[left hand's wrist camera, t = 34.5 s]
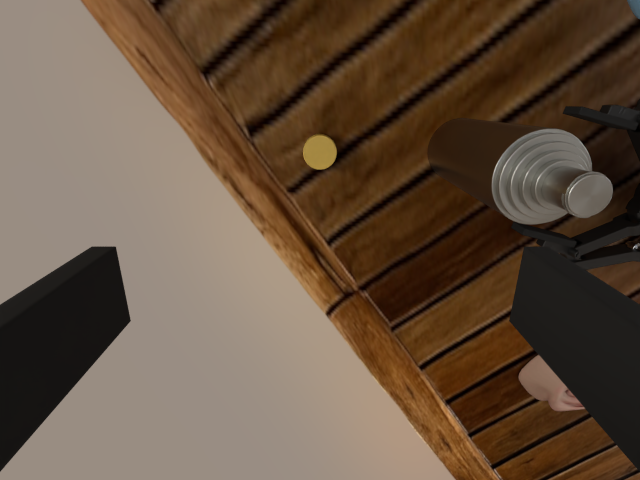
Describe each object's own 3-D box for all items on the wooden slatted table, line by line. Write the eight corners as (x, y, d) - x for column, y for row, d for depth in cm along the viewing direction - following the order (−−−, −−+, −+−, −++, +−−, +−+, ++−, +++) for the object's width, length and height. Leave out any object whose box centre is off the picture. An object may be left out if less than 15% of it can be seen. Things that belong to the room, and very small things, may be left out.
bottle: (426, 122, 46) (534, 143, 23) (489, 114, 46) (662, 126, 23) (428, 183, 49) (527, 257, 26) (487, 175, 48) (641, 243, 25)
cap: (301, 163, 48) (300, 166, 46) (306, 130, 46) (305, 132, 44) (333, 169, 48) (333, 172, 46) (339, 136, 47) (340, 138, 44)
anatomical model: (520, 406, 56) (566, 346, 52) (507, 387, 60) (549, 330, 56) (593, 433, 58) (642, 377, 54) (576, 413, 62) (621, 359, 58)
